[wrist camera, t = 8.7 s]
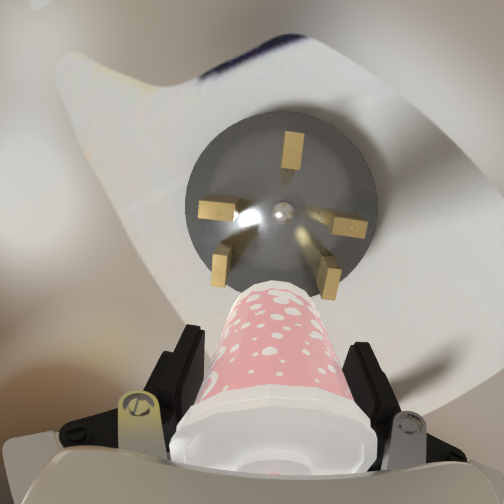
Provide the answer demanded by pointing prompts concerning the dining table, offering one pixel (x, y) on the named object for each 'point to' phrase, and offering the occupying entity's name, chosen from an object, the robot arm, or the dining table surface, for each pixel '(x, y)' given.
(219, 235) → the gold studded metal disc
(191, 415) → the beverage cup
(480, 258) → the dining table surface
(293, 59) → the dining table surface
